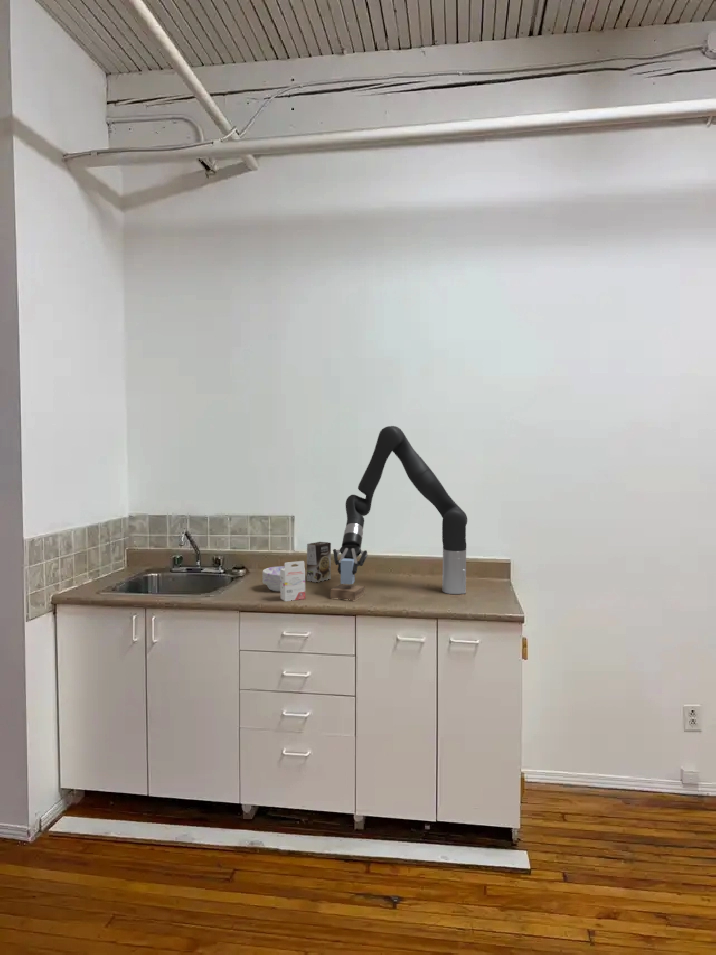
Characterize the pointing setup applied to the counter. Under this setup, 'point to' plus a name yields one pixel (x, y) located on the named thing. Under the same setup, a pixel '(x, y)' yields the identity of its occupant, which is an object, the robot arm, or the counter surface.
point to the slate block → (347, 571)
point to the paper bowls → (272, 577)
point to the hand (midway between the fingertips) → (346, 573)
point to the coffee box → (318, 561)
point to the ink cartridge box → (292, 581)
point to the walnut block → (347, 592)
